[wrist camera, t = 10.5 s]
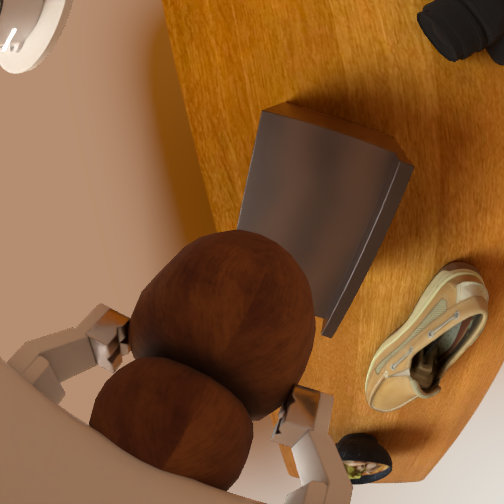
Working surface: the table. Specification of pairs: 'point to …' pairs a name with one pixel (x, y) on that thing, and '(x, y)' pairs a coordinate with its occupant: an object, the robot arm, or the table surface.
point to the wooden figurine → (209, 356)
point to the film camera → (465, 27)
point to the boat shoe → (429, 339)
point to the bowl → (363, 458)
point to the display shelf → (324, 198)
